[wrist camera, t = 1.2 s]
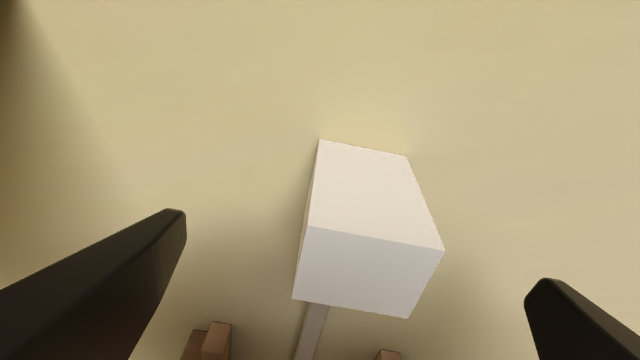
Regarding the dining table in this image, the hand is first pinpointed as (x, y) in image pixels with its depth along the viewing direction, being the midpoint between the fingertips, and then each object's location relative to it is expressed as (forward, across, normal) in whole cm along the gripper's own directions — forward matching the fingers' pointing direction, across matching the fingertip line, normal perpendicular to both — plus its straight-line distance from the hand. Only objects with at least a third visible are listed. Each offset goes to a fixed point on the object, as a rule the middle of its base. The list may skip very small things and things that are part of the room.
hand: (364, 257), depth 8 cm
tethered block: (+4, 0, +9) cm, 10 cm away
